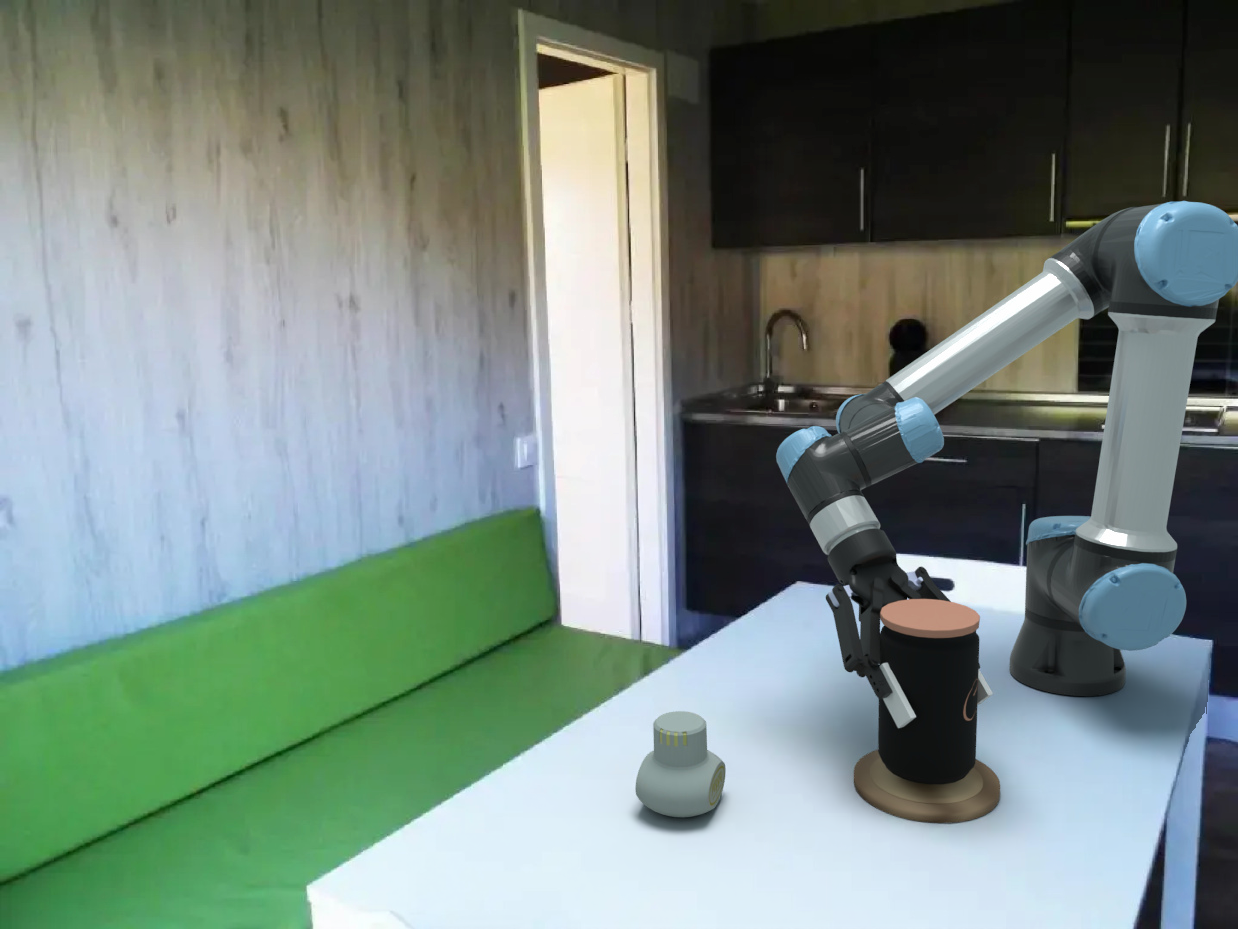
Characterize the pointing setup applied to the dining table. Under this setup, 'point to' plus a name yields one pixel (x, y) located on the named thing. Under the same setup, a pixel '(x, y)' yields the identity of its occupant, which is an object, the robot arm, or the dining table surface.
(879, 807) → the trivet
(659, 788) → the air freshener
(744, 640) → the dining table surface
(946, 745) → the coffee jar
